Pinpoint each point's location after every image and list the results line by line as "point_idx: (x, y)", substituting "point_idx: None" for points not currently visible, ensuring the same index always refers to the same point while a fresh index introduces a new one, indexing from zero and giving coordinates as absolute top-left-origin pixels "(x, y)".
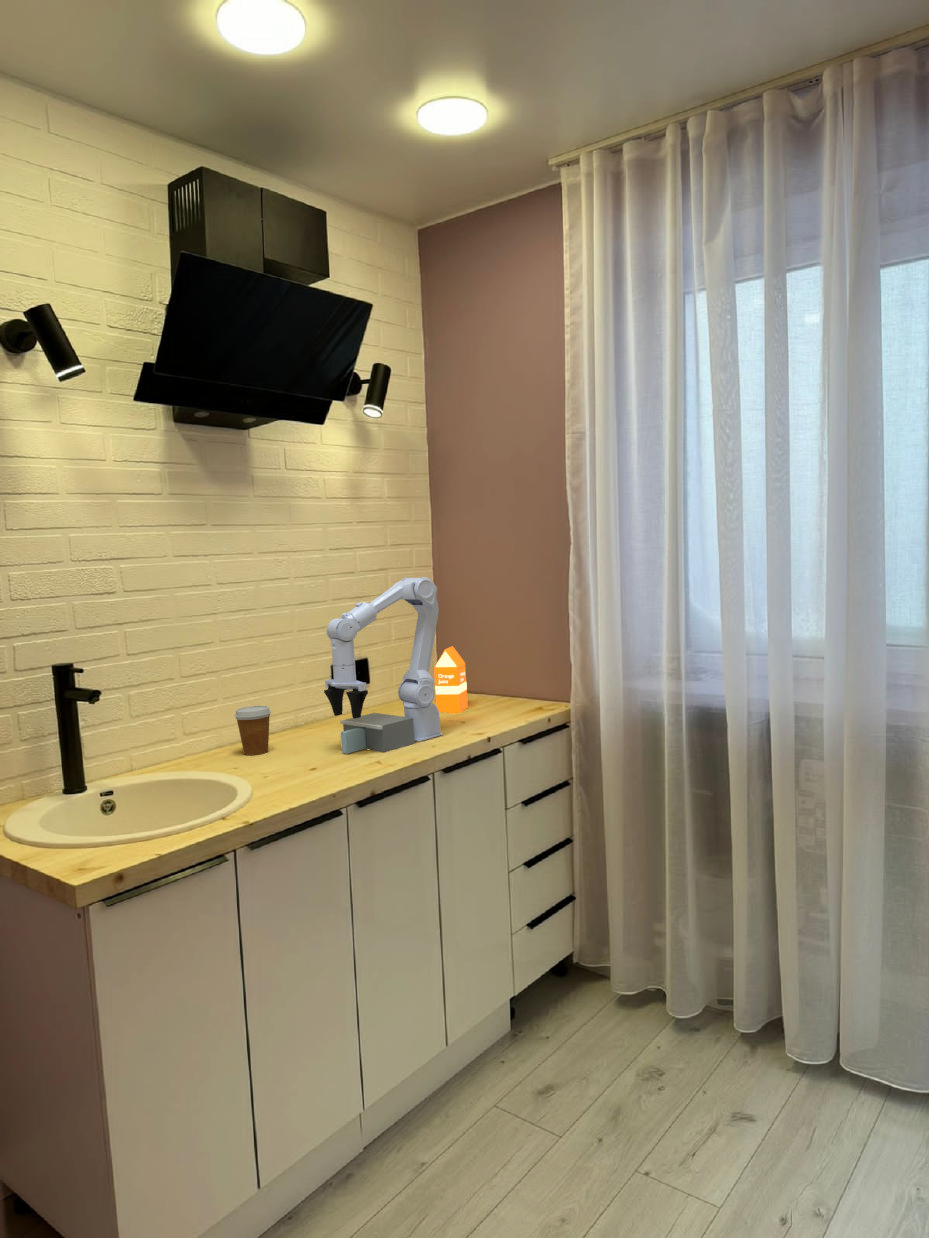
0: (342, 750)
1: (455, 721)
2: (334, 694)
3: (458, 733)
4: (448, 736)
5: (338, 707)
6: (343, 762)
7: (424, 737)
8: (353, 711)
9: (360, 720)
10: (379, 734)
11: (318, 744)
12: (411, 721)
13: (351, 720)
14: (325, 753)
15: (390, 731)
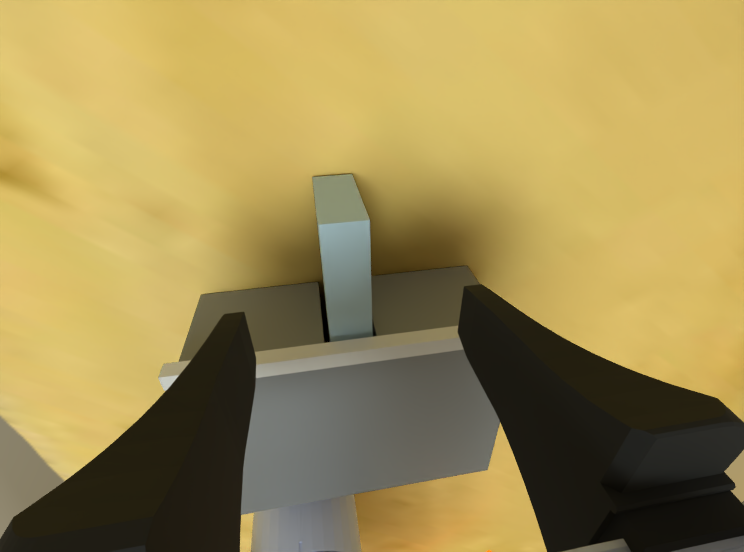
0: (350, 178)
1: (378, 549)
2: (566, 442)
3: (248, 519)
4: None
5: (486, 353)
6: (162, 49)
7: None
8: (198, 350)
9: (417, 384)
10: None
11: (597, 214)
12: None
13: (466, 361)
14: (440, 128)
15: None
